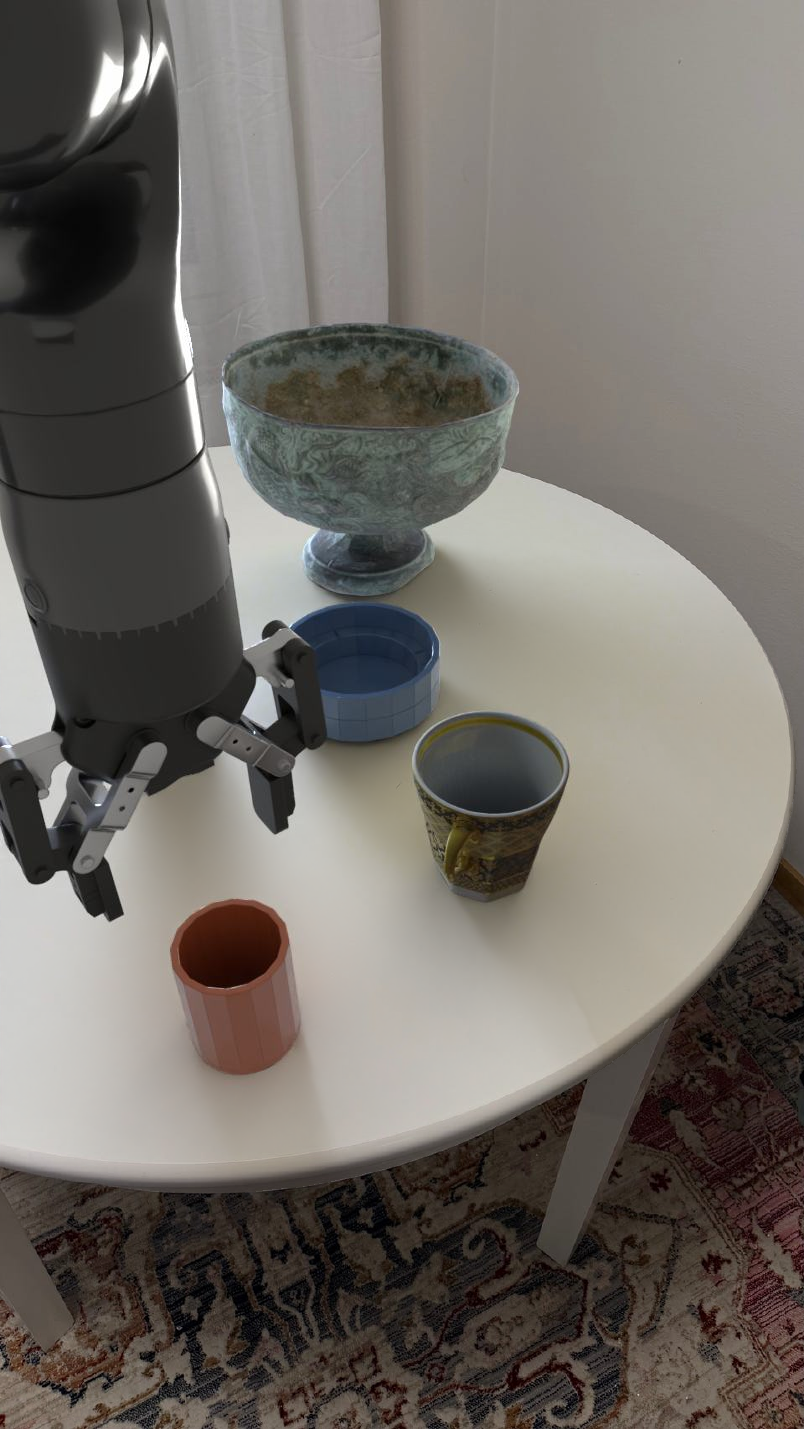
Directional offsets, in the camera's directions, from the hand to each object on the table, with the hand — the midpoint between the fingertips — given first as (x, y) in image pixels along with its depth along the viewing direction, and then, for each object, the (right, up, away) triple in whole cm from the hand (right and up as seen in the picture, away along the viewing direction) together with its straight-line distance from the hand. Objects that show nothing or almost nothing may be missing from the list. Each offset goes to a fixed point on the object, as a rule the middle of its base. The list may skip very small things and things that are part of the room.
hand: (192, 863), depth 47 cm
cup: (0, -12, +14) cm, 18 cm away
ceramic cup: (+15, -5, +22) cm, 27 cm away
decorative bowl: (+7, +23, +55) cm, 60 cm away
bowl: (+6, +9, +38) cm, 39 cm away
